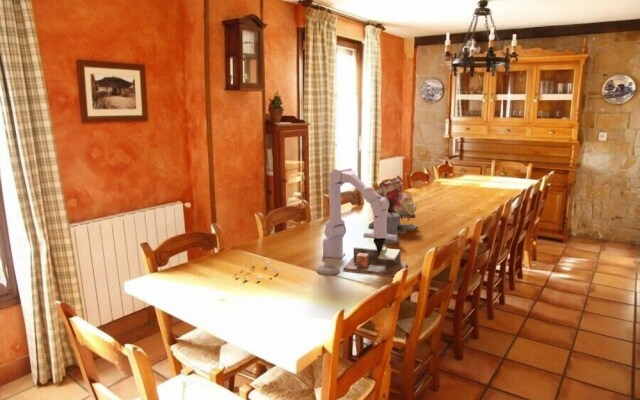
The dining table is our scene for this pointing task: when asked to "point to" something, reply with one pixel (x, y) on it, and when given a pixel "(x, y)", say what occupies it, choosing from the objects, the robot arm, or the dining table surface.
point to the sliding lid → (388, 253)
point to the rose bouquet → (397, 203)
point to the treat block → (363, 260)
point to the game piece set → (259, 276)
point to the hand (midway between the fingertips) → (379, 254)
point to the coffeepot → (392, 226)
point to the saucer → (328, 270)
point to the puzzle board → (375, 263)
